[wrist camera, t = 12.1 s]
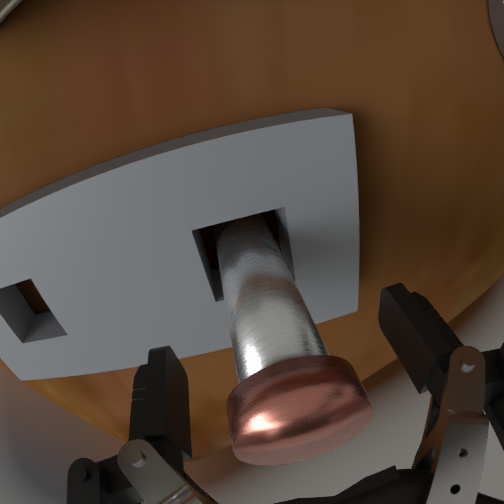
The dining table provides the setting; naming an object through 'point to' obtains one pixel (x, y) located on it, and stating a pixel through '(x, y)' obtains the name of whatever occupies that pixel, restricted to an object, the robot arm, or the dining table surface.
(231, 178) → the mount board
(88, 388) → the dining table surface
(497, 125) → the dining table surface
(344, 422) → the lock pin
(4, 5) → the pneumatic valve
